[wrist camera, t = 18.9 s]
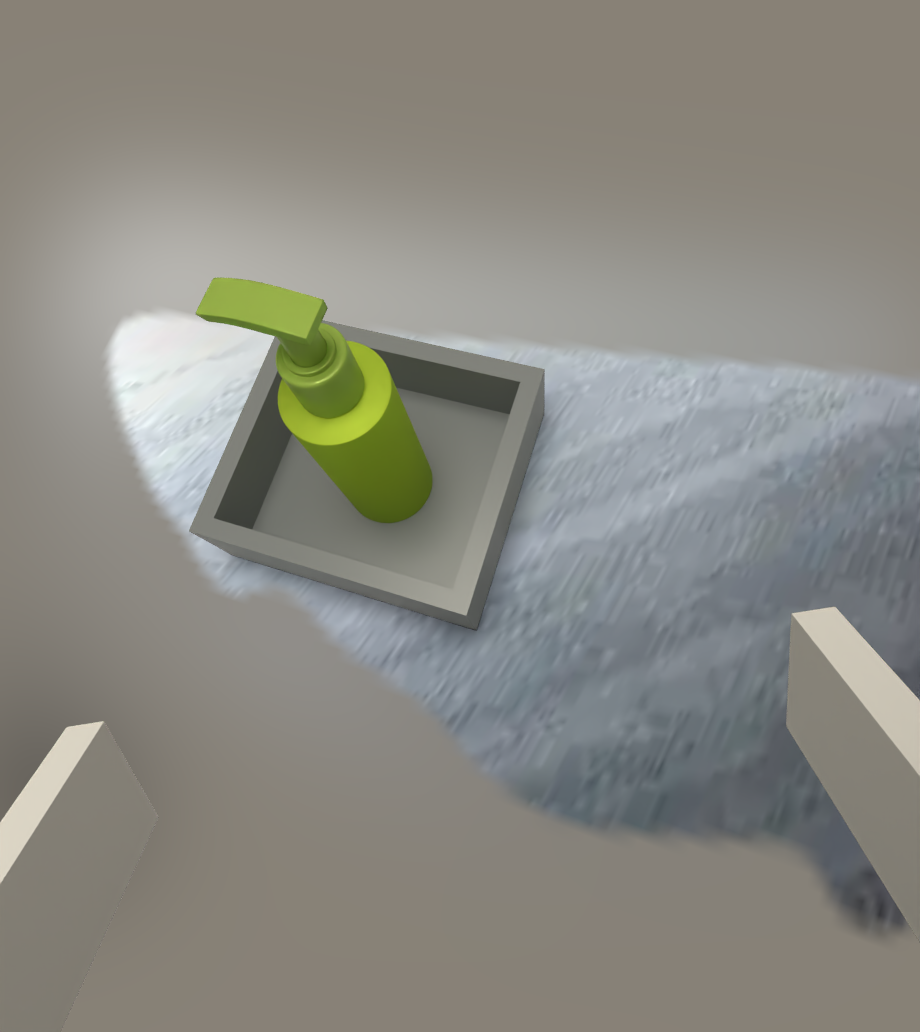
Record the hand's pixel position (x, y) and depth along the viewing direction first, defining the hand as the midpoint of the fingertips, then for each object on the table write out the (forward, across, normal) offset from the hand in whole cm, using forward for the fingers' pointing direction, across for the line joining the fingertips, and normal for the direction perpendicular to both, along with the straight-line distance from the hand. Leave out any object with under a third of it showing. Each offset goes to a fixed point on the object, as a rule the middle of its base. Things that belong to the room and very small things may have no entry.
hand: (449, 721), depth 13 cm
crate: (+33, -6, -9) cm, 35 cm away
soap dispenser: (+33, -6, -8) cm, 34 cm away
